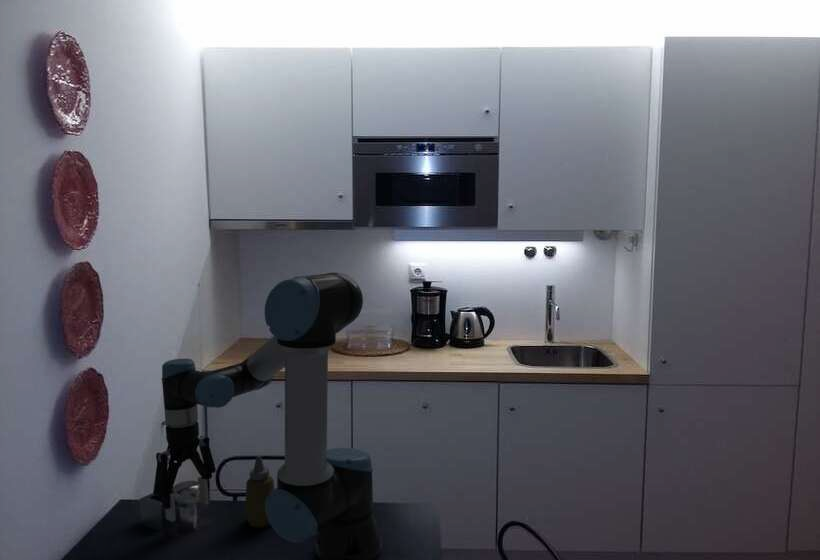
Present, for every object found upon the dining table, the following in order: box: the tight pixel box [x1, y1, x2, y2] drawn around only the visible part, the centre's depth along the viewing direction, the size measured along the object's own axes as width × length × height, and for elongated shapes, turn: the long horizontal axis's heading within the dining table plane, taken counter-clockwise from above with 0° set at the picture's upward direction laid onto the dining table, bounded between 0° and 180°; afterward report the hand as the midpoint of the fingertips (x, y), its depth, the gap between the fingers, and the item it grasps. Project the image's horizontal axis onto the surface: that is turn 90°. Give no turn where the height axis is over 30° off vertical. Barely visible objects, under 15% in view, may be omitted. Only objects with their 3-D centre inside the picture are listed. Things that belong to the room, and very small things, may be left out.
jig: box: [138, 488, 214, 540], centre depth 151 cm, size 16×10×7 cm, turn 58°
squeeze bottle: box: [244, 455, 276, 529], centre depth 149 cm, size 8×8×18 cm
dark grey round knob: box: [173, 480, 200, 531], centre depth 148 cm, size 6×6×10 cm
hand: (187, 511), depth 148 cm, fingers open, 9 cm apart
